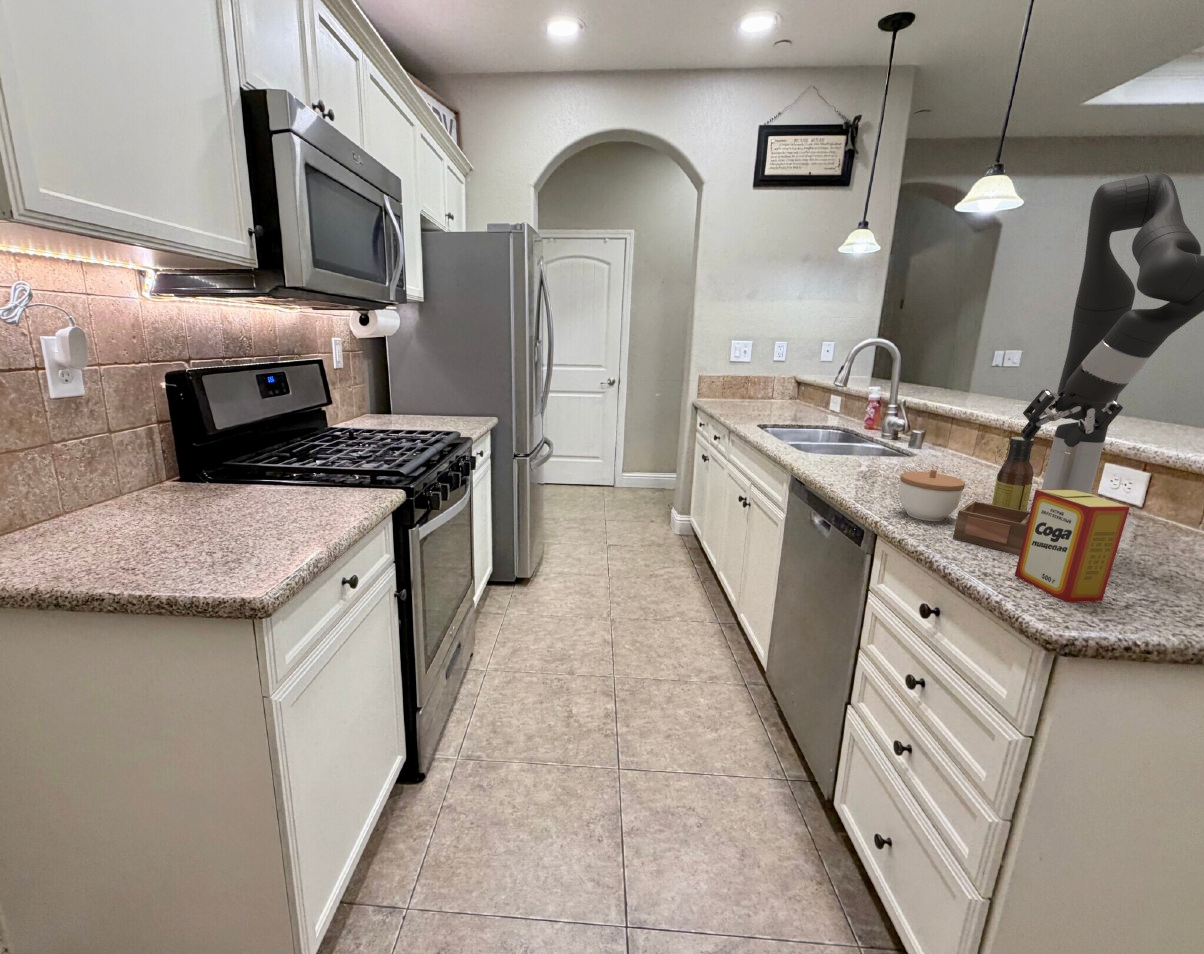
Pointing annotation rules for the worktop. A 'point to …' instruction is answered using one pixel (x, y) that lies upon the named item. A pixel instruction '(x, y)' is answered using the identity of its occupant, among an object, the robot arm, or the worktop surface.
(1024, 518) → the wooden compartment tray
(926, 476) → the white lidded bowl
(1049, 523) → the baking soda box
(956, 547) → the worktop surface
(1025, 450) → the sauce bottle
